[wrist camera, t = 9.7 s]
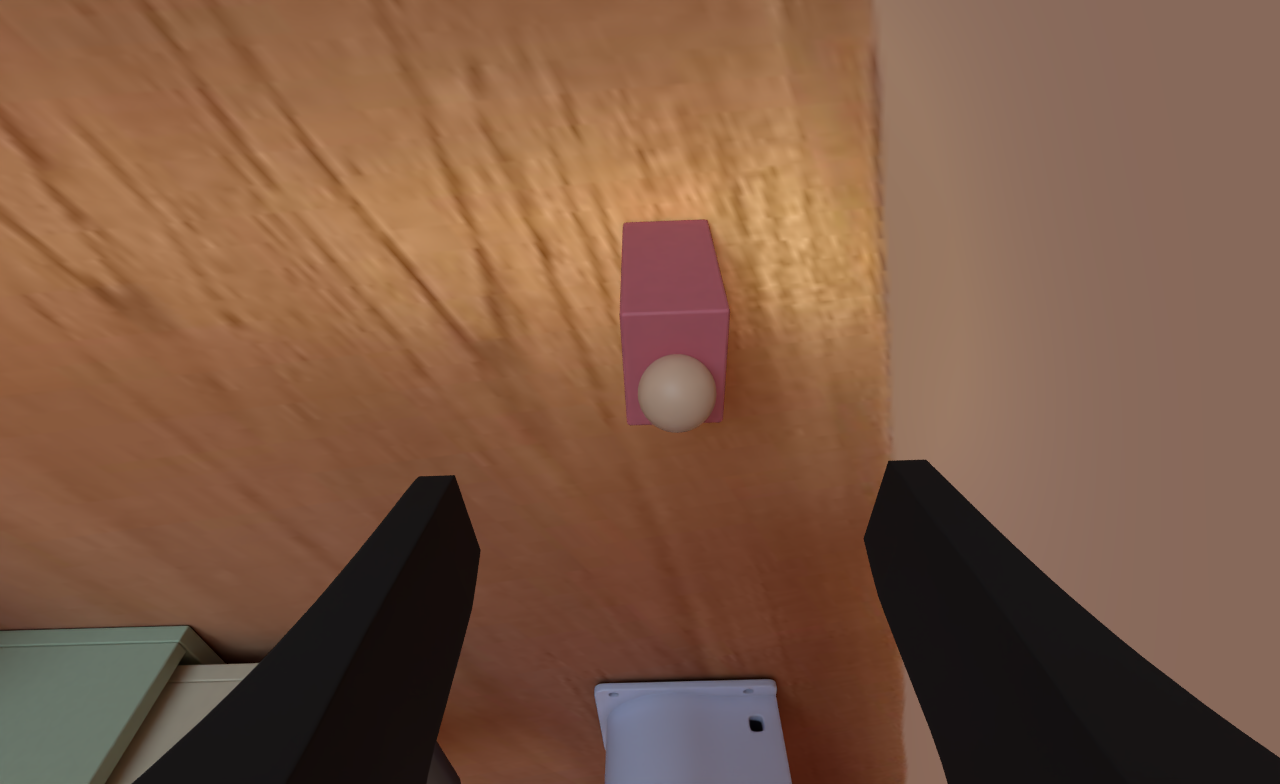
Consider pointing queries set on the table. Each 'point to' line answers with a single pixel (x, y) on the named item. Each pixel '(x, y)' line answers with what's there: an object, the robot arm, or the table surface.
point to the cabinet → (82, 696)
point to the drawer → (189, 703)
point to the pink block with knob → (672, 325)
